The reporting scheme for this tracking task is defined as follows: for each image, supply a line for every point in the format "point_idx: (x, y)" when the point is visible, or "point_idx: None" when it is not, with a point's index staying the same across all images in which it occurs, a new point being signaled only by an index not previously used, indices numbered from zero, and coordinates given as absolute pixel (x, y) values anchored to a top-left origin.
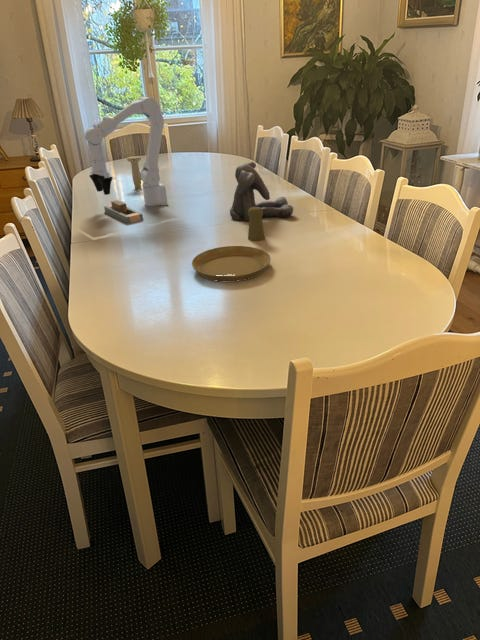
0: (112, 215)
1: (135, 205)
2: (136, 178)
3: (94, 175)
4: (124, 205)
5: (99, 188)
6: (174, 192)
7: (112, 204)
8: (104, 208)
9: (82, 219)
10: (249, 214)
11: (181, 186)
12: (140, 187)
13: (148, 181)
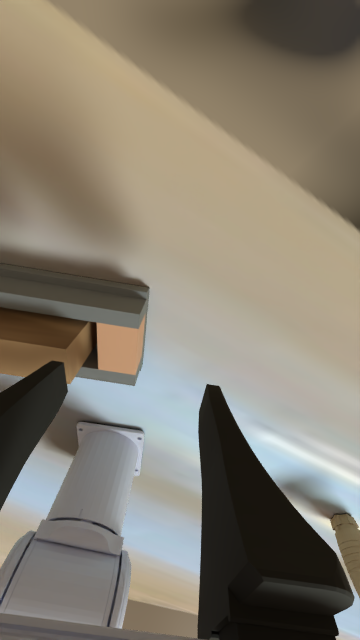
0: (45, 284)
1: (168, 424)
2: (354, 562)
3: (236, 597)
4: None
5: (205, 417)
6: (191, 521)
7: (60, 337)
8: (139, 308)
9: (170, 145)
10: None
11: None
12: (331, 521)
13: (4, 562)
